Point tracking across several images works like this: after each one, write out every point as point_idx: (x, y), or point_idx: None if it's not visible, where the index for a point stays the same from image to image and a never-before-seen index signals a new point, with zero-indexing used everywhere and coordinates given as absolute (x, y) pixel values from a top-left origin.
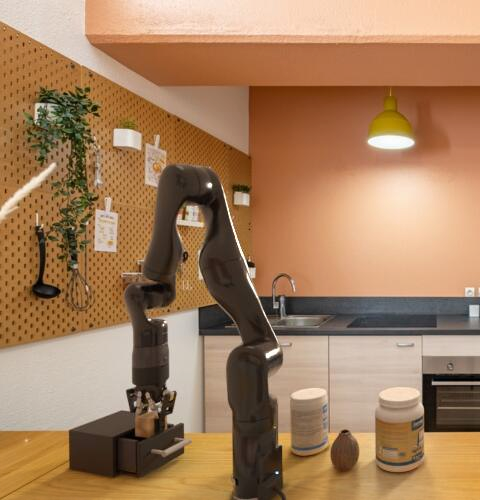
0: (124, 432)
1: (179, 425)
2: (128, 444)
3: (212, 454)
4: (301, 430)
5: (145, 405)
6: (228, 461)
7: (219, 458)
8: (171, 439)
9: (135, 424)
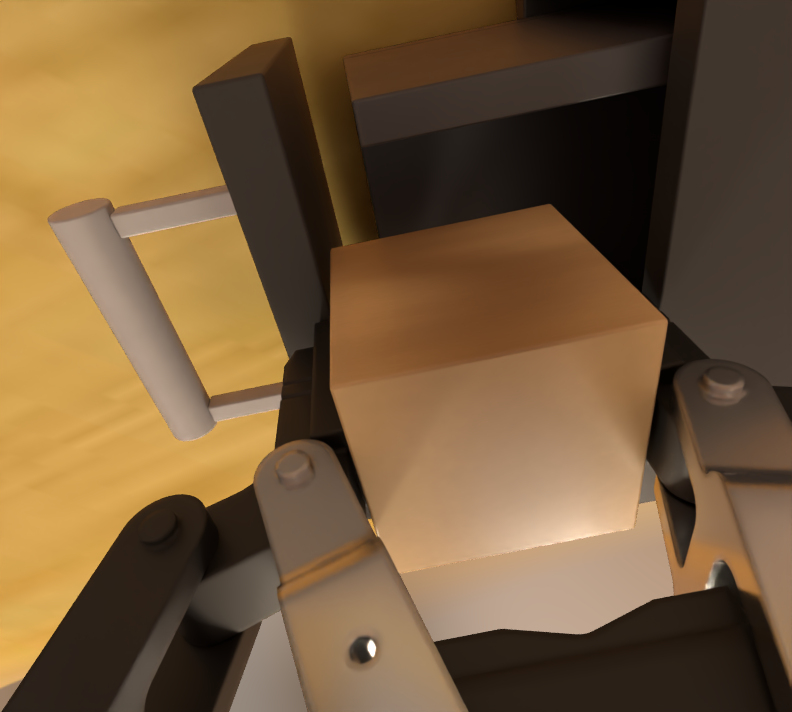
0: (680, 136)
1: None
2: (463, 66)
3: (227, 427)
4: None
5: (697, 564)
6: (61, 428)
7: (143, 423)
8: None
9: (604, 264)
